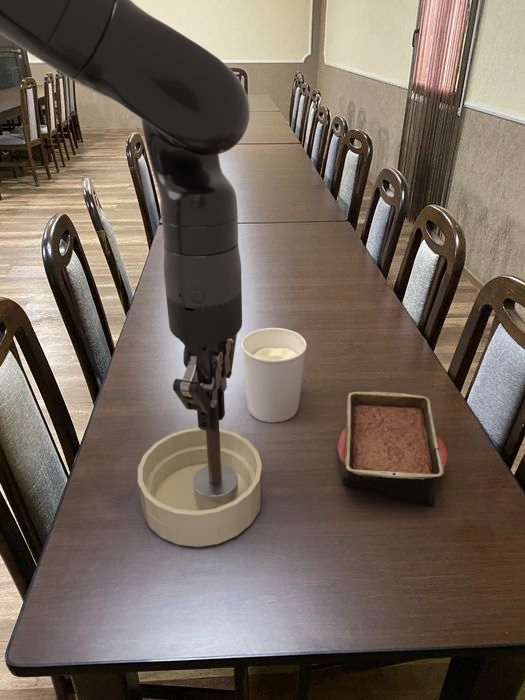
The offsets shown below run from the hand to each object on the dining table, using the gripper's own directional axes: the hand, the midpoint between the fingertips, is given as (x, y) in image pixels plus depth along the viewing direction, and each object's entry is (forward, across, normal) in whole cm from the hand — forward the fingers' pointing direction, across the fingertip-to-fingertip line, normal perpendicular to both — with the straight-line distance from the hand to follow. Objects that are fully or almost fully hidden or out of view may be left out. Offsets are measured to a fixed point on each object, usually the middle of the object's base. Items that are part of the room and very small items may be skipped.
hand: (211, 422), depth 62 cm
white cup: (+14, -22, +2) cm, 26 cm away
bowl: (+13, 0, -2) cm, 14 cm away
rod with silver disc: (+11, 0, 0) cm, 11 cm away
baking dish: (+14, -13, +21) cm, 28 cm away
